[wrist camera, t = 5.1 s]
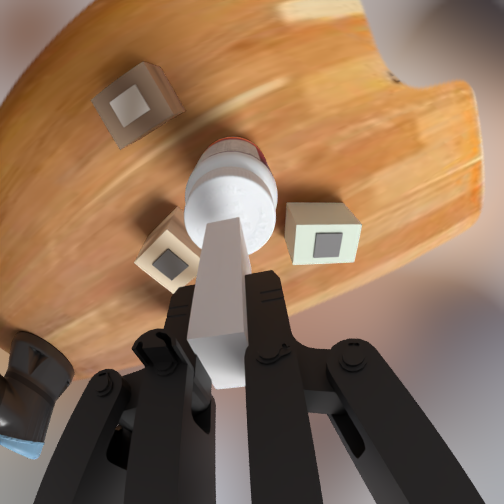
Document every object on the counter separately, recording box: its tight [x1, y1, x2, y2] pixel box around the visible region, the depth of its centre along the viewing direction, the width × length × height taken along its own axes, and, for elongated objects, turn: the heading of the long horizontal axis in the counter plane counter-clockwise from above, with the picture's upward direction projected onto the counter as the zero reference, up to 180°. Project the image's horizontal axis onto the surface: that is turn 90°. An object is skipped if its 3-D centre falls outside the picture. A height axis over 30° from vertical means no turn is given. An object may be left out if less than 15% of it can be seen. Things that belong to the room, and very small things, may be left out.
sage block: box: [285, 202, 362, 265], centre depth 26 cm, size 6×4×5 cm, turn 90°
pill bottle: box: [184, 137, 278, 255], centre depth 20 cm, size 6×6×11 cm
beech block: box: [134, 206, 202, 294], centre depth 26 cm, size 5×5×5 cm
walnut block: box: [91, 61, 186, 150], centre depth 18 cm, size 5×5×5 cm
